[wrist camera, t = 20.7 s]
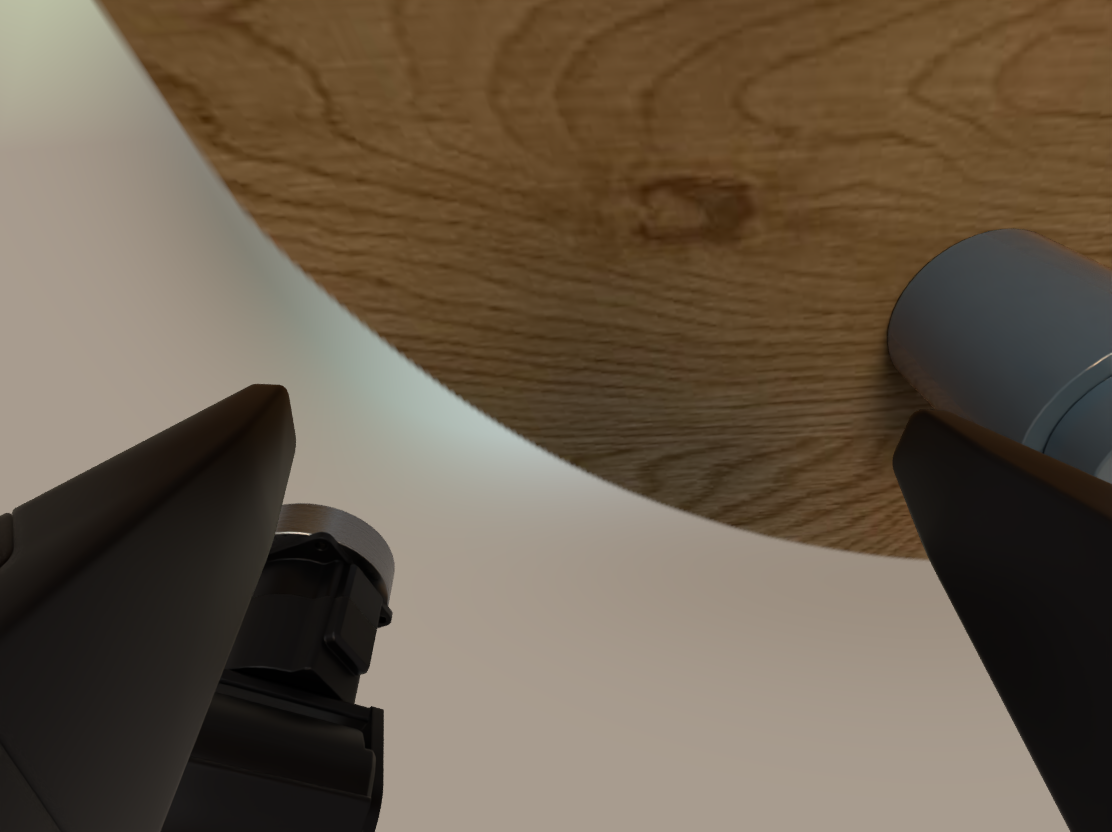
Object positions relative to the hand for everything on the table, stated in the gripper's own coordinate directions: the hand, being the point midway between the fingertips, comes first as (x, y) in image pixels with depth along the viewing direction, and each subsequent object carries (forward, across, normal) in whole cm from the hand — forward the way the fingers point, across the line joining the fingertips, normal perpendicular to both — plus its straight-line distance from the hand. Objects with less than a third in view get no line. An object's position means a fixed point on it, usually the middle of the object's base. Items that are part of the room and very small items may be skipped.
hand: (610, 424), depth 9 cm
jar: (+12, -15, +3) cm, 19 cm away
